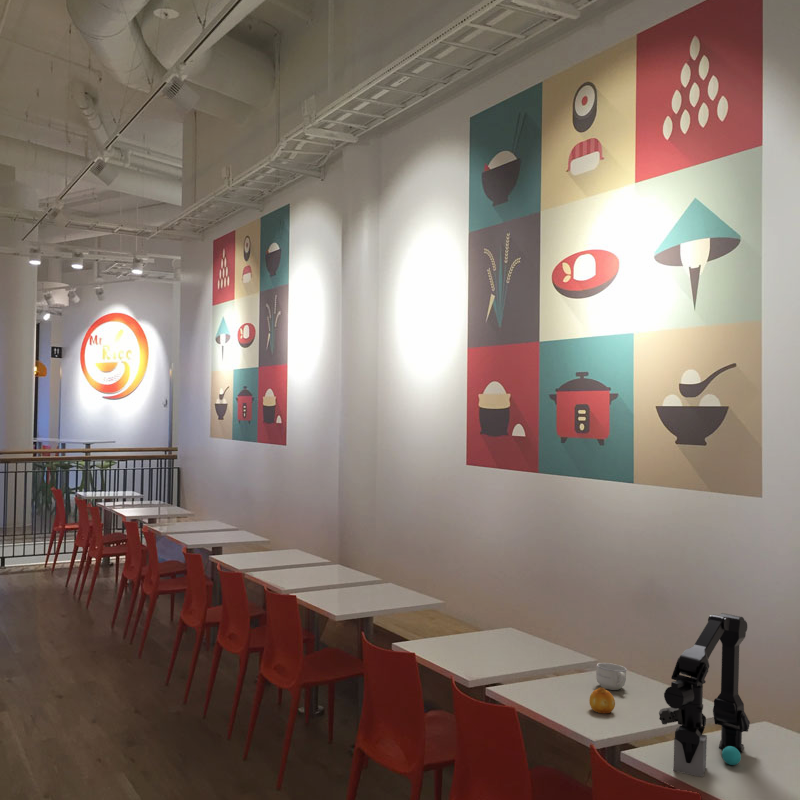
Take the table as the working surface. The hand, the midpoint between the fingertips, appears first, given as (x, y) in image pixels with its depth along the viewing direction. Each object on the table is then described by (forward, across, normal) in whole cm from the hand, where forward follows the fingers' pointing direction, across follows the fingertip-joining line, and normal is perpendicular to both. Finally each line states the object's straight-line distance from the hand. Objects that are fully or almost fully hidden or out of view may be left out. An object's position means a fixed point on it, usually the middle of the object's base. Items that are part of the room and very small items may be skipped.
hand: (690, 757), depth 221 cm
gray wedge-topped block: (+3, 0, 0) cm, 3 cm away
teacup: (+3, -61, -34) cm, 70 cm away
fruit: (+3, -34, -32) cm, 47 cm away
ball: (+1, -10, +10) cm, 14 cm away
